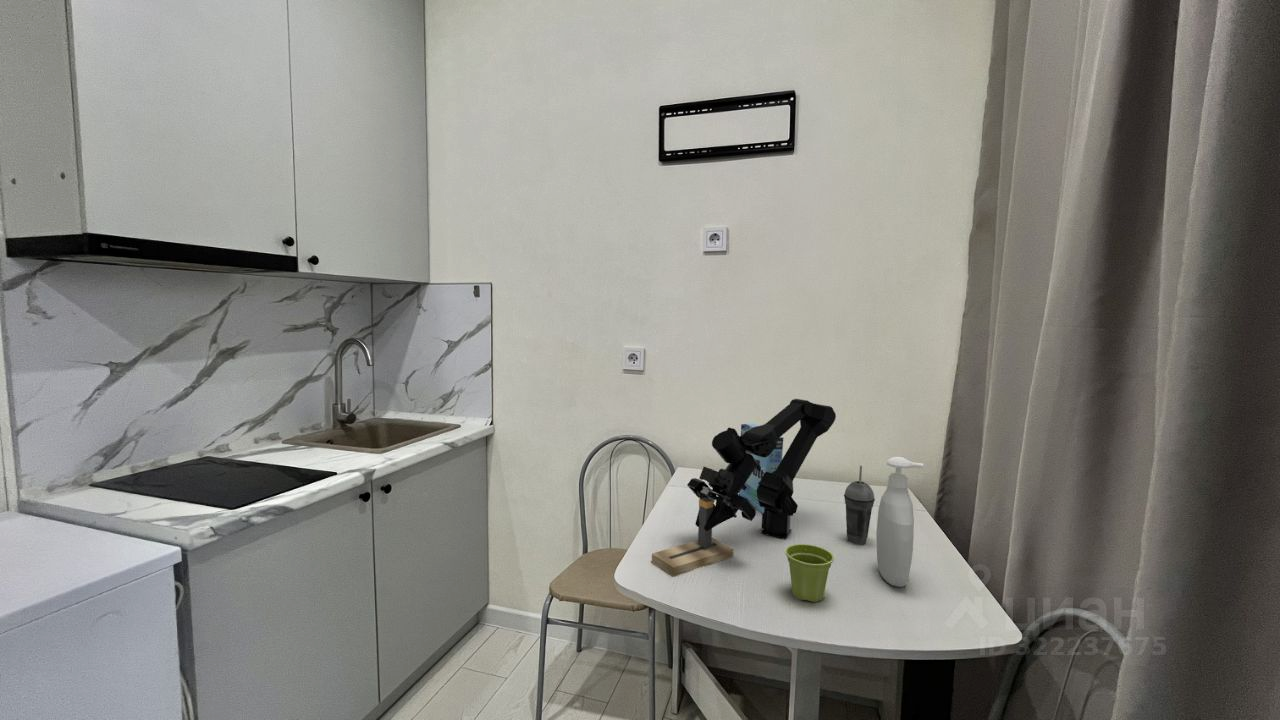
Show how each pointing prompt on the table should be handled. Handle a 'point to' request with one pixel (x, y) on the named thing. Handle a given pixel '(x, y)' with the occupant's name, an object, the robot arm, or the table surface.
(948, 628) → the table surface
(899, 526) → the soap bottle
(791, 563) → the plant pot
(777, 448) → the gum box
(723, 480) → the robot arm
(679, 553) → the fader track
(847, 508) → the beverage cup
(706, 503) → the fader tab
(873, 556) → the table surface
